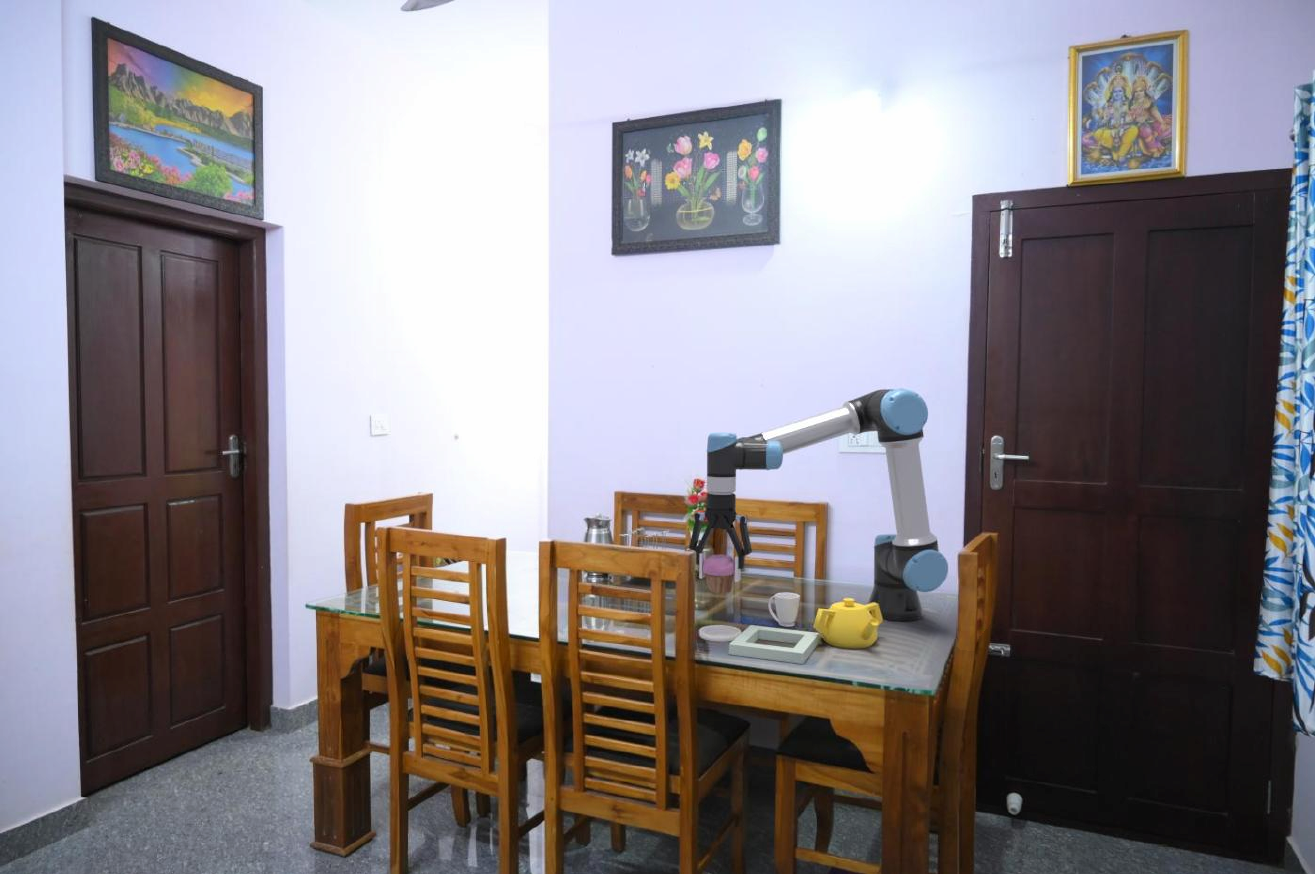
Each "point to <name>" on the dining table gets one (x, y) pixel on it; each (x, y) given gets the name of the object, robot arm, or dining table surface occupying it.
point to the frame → (798, 654)
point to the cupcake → (719, 573)
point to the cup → (785, 608)
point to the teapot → (849, 624)
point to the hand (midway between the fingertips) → (719, 579)
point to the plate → (719, 633)
